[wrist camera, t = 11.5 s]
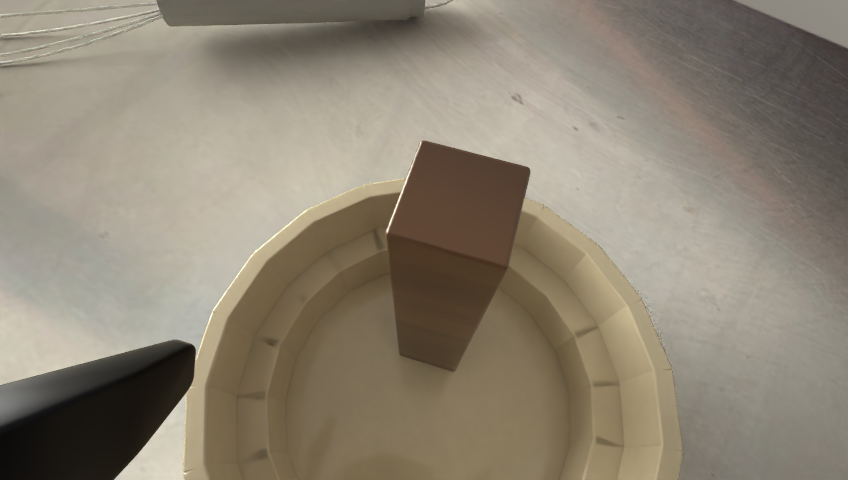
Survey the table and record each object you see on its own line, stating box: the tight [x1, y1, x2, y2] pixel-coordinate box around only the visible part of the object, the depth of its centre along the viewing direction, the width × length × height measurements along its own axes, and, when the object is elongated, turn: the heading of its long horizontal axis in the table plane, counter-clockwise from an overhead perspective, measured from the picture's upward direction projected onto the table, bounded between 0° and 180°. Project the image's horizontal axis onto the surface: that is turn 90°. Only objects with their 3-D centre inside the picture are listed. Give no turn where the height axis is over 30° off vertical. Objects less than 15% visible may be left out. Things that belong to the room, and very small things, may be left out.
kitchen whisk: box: [0, 0, 453, 65], centre depth 24 cm, size 6×34×6 cm, turn 99°
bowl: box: [183, 178, 683, 480], centre depth 15 cm, size 14×14×6 cm
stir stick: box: [385, 141, 530, 372], centre depth 14 cm, size 2×2×11 cm
